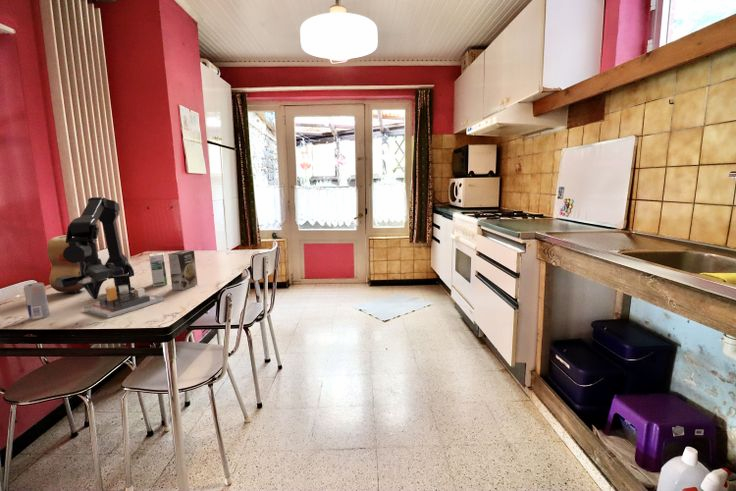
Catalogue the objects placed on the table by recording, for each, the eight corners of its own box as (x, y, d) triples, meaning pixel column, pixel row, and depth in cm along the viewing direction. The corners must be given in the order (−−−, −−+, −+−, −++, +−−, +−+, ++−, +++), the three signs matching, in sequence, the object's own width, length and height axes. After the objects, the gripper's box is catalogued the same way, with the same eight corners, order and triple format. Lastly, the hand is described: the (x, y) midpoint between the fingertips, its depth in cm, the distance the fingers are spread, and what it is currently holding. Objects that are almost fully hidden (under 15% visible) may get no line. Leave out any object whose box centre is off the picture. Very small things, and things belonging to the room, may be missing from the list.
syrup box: (153, 286, 159) (148, 255, 157) (153, 283, 164) (149, 253, 162) (167, 284, 162) (163, 254, 159) (167, 281, 167) (164, 252, 164)
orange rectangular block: (106, 300, 130) (105, 288, 129) (114, 298, 132) (112, 286, 132) (110, 301, 129) (108, 289, 128) (117, 298, 131) (116, 287, 131)
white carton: (38, 314, 127) (32, 282, 125) (54, 313, 128) (48, 282, 125) (25, 320, 122) (18, 287, 120) (41, 319, 122) (35, 286, 120)
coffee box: (184, 290, 153) (180, 254, 150) (171, 289, 154) (167, 254, 151) (198, 284, 162) (194, 250, 159) (186, 283, 163) (182, 249, 160)
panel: (84, 311, 130) (81, 294, 129) (139, 295, 147) (137, 280, 146) (108, 318, 123) (105, 300, 121) (163, 300, 140) (161, 285, 139)
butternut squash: (51, 299, 144) (40, 239, 139) (52, 292, 154) (41, 236, 149) (94, 292, 153) (84, 235, 148) (92, 285, 163) (83, 232, 158)
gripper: (67, 264, 111) (75, 311, 114) (129, 253, 127) (135, 294, 130) (50, 261, 116) (59, 306, 119) (112, 251, 132) (118, 290, 135)
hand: (95, 299), depth 126 cm, fingers closed
